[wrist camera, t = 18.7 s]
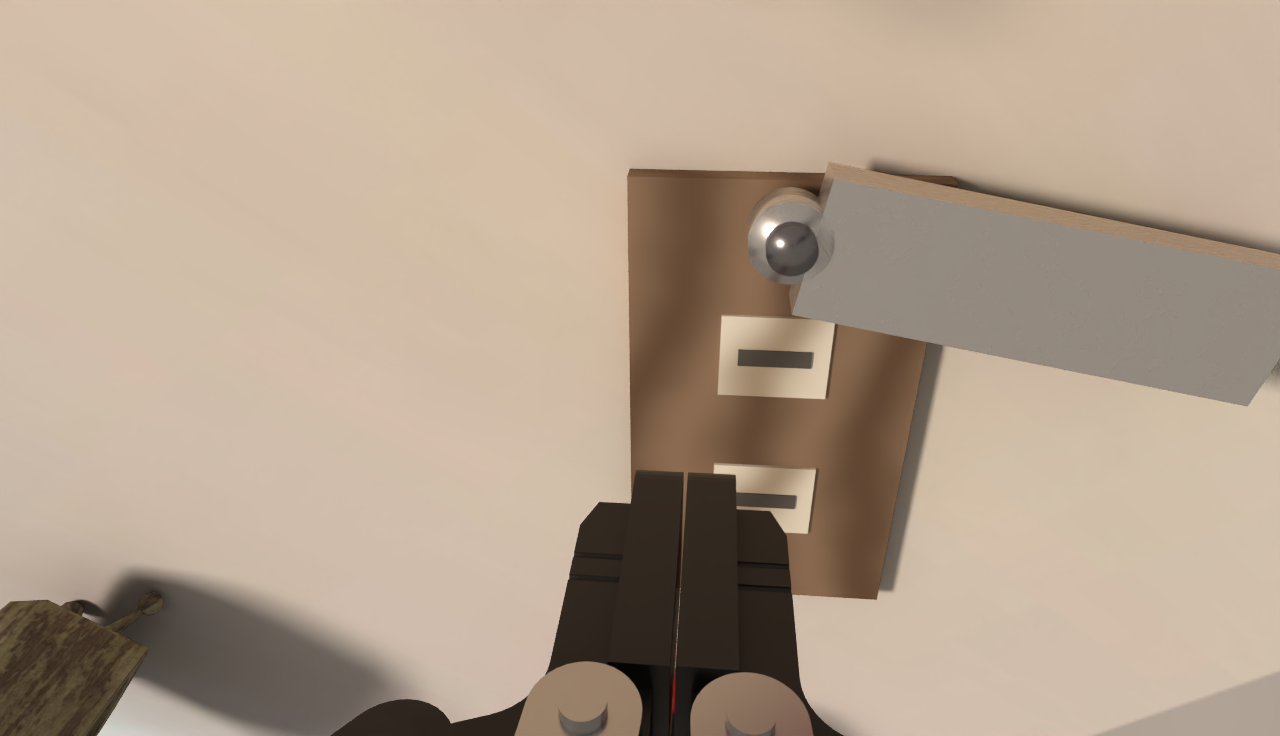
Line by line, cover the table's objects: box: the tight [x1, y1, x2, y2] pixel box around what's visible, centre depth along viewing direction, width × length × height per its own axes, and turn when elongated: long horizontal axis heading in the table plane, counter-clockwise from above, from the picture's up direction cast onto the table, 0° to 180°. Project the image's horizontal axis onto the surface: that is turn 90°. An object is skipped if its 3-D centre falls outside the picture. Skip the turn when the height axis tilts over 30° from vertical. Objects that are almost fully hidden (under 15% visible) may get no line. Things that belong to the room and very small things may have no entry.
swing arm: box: [747, 162, 1280, 406], centre depth 40 cm, size 7×26×3 cm, turn 80°
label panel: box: [627, 169, 958, 600], centre depth 49 cm, size 16×28×2 cm, turn 0°
